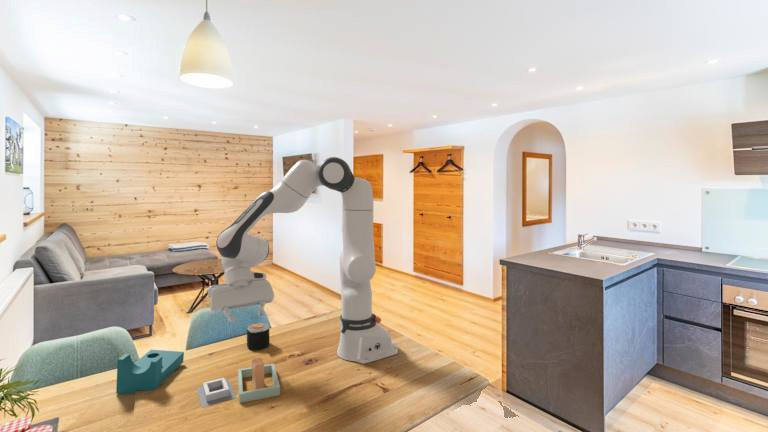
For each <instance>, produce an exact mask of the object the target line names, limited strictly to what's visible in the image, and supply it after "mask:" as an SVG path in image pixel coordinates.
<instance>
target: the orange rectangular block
mask: <svg viewBox="0 0 768 432" xmlns="http://www.w3.org/2000/svg"><path fill="white" fill-rule="evenodd" d="M264 365H265V363H264V361H263V360H262V358H261V357H259V358H254V359H252V360H251V367H252V376H251V377H252V378H251V379H252V382H251V383H252V386H253V387H254V390H255V389H260V388H265V374H264Z"/></svg>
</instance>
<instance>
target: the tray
mask: <svg viewBox="0 0 768 432" xmlns="http://www.w3.org/2000/svg"><path fill="white" fill-rule="evenodd" d="M268 374H271V378H272V382H273V386H272V385H271V386H267V387H264V388H260V389H255V388H254V389H250V390H247V391H244V389H243V379H244V378H250V377H252V366H250V367H244V368H238V369H237V379H238V384H237V385H238V399H239V400H238V402H239V404H241V403H246V402H251V401H257V400H262V399H267V398H272V397H277V396H281V386H280V382H279V377H278V373H277V370H276V365H275V363H269V364H264V375H268Z"/></svg>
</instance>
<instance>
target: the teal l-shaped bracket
mask: <svg viewBox="0 0 768 432" xmlns="http://www.w3.org/2000/svg"><path fill="white" fill-rule="evenodd" d="M184 356H185V351H177V350H161V349H160V350H159V349H150V350H149V351H147V352H146V353H144V355H143V356H141V357H140V358H139V359H137V361H135V362H134V361H133V360H132V358H131V353H124V354H123V355H121V356H120V357H119V358H118V359H117V364H116V365H117V366H116V386H115V387H116V389H115V390H116V392H115V393H116V395H117V394H118V395H119V394H120V395H121V394H122V395H135V394H136V391H146V392H151V391H153V392H154V391H156V390H157V389H158V388H159V386H161V385H162V384H163V383H164V381H166V380H167V379H168V378H169V377H170V376H171V374H173V373H174V372H175V371H176V370H177V369H178V368H179V367H180V366H181V365H182V364H183V363H184V358H185V357H184Z"/></svg>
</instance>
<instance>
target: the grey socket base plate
mask: <svg viewBox="0 0 768 432" xmlns="http://www.w3.org/2000/svg"><path fill="white" fill-rule="evenodd" d="M196 391H197V395H198V399H199V403H200V407H201V408H202V409H204V408H205V407H209V406H214V405H217V404H220V403H223V402H229V401H231V400H234V399H237V395H236V394H235V391H234V389H233V387H232V384H231V382H230V380H229V379H226V378H225V377H221V378H217V379H213V380H209V381H205V382H202V385H200V386H196Z"/></svg>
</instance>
